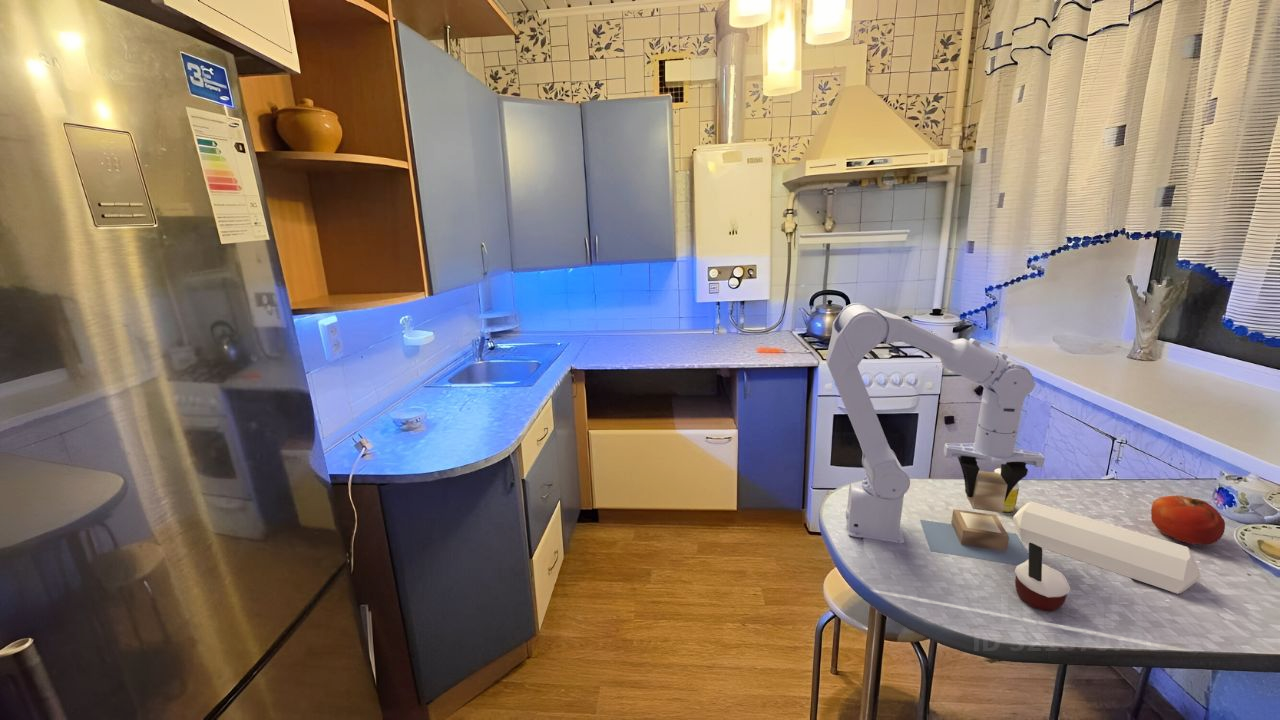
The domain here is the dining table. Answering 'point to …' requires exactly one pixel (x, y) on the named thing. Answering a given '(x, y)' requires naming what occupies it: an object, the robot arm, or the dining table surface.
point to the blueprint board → (947, 542)
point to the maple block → (988, 492)
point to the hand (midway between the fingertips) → (984, 496)
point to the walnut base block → (979, 530)
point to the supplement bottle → (1009, 498)
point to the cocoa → (1040, 582)
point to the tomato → (1187, 519)
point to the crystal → (1108, 546)
